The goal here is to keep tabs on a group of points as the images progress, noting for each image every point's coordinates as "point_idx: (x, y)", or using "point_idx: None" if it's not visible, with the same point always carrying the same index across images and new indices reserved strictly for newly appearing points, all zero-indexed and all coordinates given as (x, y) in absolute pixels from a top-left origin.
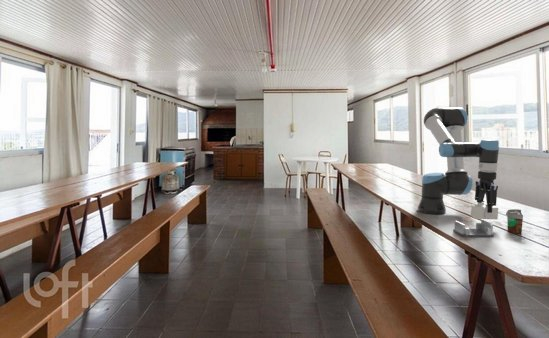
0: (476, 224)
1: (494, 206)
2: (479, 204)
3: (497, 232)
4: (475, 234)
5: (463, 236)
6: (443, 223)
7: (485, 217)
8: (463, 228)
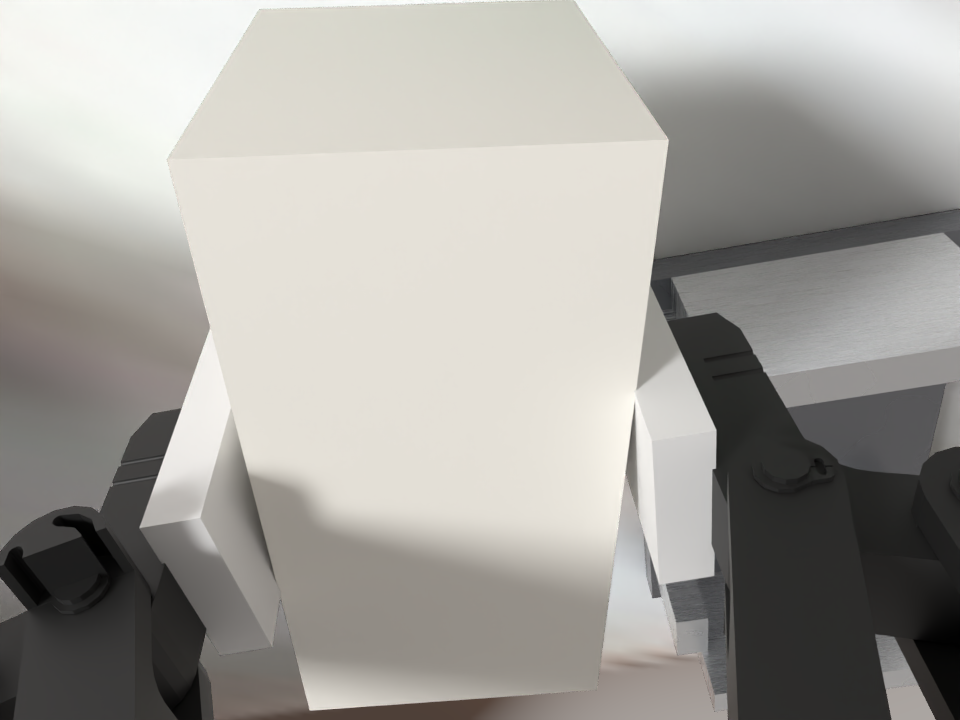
0: None
1: (465, 217)
2: (273, 579)
3: (723, 16)
4: (911, 451)
5: None
6: None
7: None
8: None
